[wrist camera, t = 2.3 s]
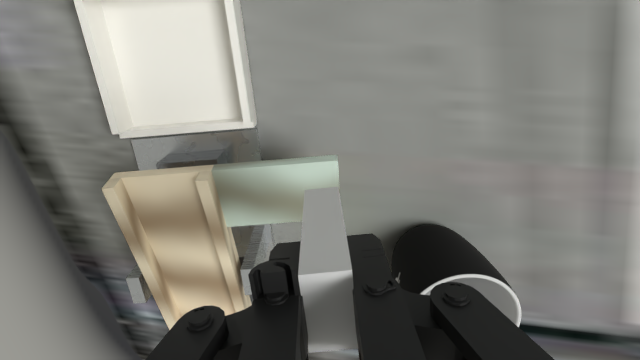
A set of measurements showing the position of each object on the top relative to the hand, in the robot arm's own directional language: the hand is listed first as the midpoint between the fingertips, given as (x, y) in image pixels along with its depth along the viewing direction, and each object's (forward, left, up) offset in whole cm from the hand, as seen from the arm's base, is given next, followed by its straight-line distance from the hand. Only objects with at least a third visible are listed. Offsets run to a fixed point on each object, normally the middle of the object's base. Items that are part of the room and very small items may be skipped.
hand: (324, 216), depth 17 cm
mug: (+15, +10, -18) cm, 25 cm away
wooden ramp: (+10, -7, -13) cm, 17 cm away
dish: (-7, -11, -17) cm, 22 cm away
